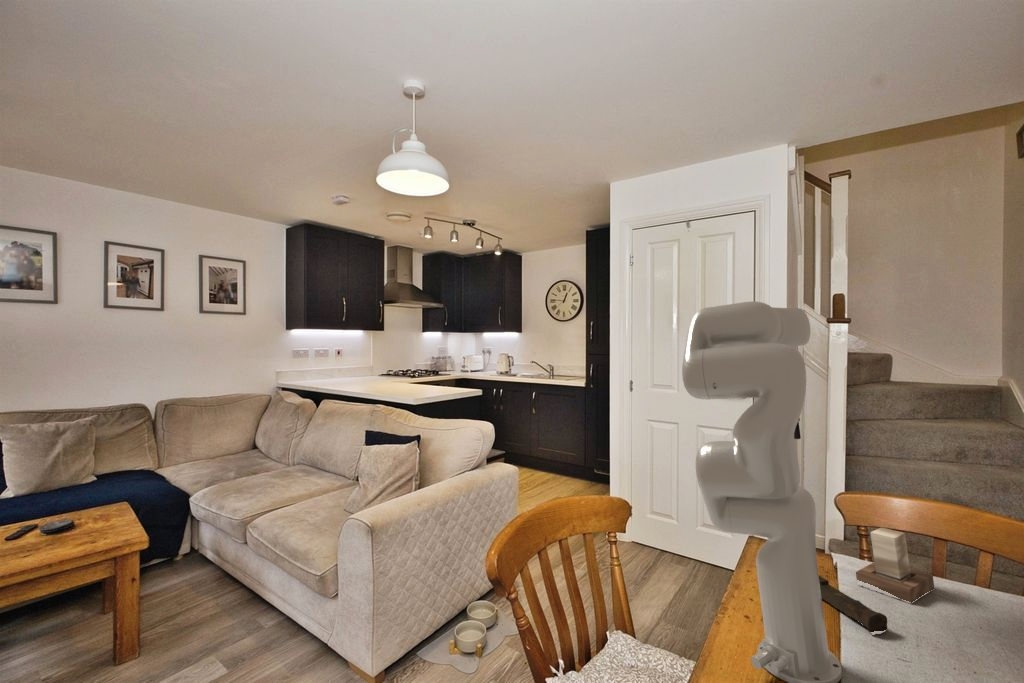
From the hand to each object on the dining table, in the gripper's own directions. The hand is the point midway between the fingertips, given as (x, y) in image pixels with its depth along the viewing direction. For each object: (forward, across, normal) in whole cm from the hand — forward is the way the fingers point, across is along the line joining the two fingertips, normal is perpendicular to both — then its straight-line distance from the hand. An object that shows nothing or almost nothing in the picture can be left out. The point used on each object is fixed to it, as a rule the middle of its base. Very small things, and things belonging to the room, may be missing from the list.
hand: (780, 441), depth 106 cm
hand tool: (+34, -3, -10) cm, 35 cm away
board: (+33, +15, -12) cm, 38 cm away
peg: (+33, +15, -12) cm, 38 cm away
